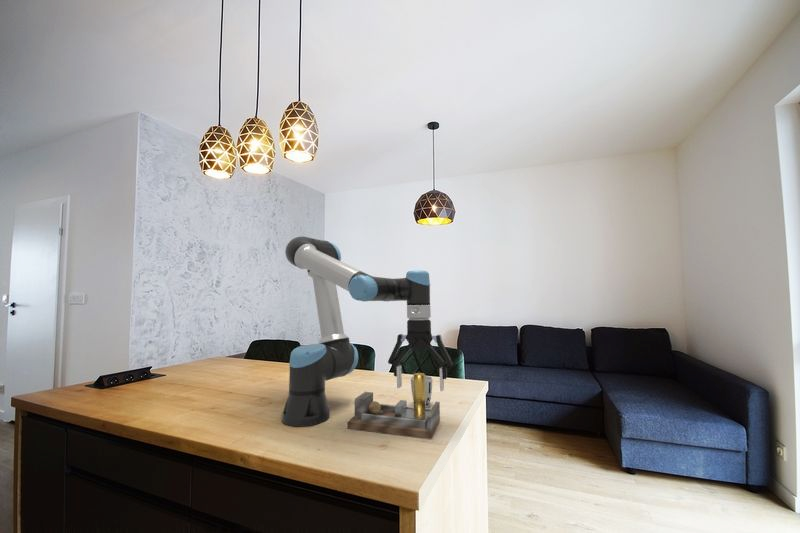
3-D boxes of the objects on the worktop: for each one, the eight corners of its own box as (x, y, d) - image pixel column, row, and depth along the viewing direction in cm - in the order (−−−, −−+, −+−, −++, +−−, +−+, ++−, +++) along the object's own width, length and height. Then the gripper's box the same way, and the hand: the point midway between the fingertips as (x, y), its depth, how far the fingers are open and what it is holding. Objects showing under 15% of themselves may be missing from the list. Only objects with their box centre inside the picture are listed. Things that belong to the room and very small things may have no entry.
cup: (431, 410, 112) (431, 381, 113) (409, 408, 113) (409, 380, 115) (433, 403, 120) (433, 376, 121) (412, 401, 121) (412, 375, 122)
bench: (347, 428, 96) (347, 401, 97) (365, 413, 109) (365, 389, 110) (431, 439, 88) (430, 409, 89) (439, 421, 102) (439, 395, 103)
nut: (366, 416, 100) (366, 402, 100) (371, 411, 103) (371, 399, 104) (378, 417, 99) (378, 404, 99) (382, 413, 102) (382, 400, 103)
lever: (394, 421, 95) (394, 375, 97) (401, 413, 102) (401, 370, 104) (426, 425, 92) (426, 377, 94) (431, 416, 99) (431, 372, 101)
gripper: (377, 319, 100) (378, 389, 98) (456, 319, 93) (459, 394, 90) (385, 318, 107) (386, 383, 105) (459, 318, 100) (462, 387, 98)
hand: (420, 388), depth 98 cm, fingers open, 13 cm apart
